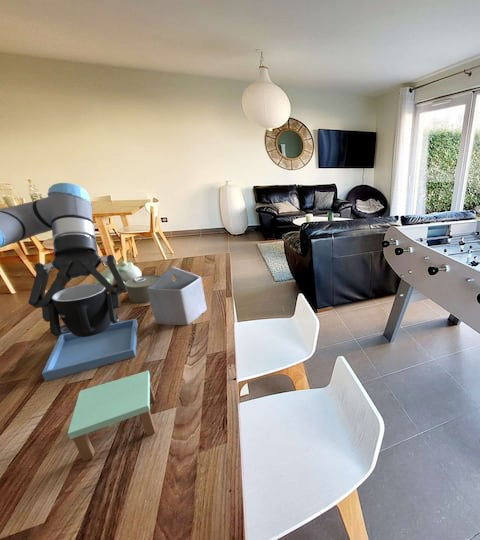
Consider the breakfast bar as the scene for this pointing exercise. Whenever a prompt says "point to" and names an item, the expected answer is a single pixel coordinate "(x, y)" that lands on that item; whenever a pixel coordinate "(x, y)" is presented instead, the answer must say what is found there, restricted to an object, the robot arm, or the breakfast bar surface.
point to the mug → (83, 309)
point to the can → (140, 288)
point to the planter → (177, 297)
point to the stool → (111, 408)
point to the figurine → (121, 273)
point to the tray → (92, 350)
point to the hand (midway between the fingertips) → (85, 327)
